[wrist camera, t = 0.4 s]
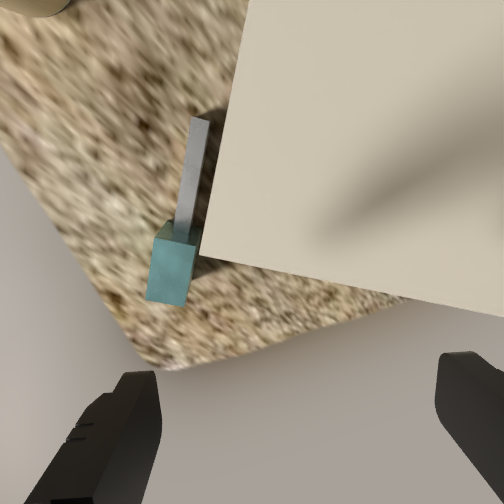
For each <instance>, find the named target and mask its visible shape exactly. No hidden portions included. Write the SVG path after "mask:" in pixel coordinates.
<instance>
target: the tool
mask: <svg viewBox="0 0 504 504" xmlns="http://www.w3.org/2000/svg"><path fill="white" fill-rule="evenodd" d="M210 127H211V121H207V120H203V119H199V118H196V117H191V123H190V129H189V135H188V141H187V147H186V153H185V160H184V166H183V172H182V178H181V184H180V190H179V196H178V202H177V208H176V214H175V220H174V222H171V221H167V222H166V223H165V224H164V226H163V227H162V228H161V230H160V231H159V232H158V234H157V235H156V236H155V238H154V243H153V250H152V257H151V264H150V271H149V278H148V284H147V291H146V298H145V300H149V301H154V302H160V303H165V304H171V305H176V306H182V307H184V306H185V302H186V299H187V295H188V292H189V288H190V285H191V281H192V276H193V271H194V266H195V261H196V256H197V251H198V246H199V241H200V236H201V231H202V228H199V227H194V226H192V224H193V219H194V213H195V208H196V203H197V197H198V192H199V186H200V181H201V176H202V170H203V165H204V159H205V154H206V149H207V143H208V138H209V132H210Z"/></svg>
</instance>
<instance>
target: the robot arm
mask: <svg viewBox="0 0 504 504" xmlns="http://www.w3.org/2000/svg"><path fill="white" fill-rule="evenodd" d="M435 408H436V412H437V415H438V418H439V420H440V422H441V423H442V425H443V426H444V428H445V429H446V430H447V431H448V433H449V434H450V435H451V436H452V438H453V439H454V440H455V442H456V443H457V444H458V446H459V447H460V448H461V449H462V451H463V452H464V453H465V455H466V456H467V457H468V458H469V460H470V461H471V462H472V463H473V465H474V466H475V467H476V468H477V470H478V471H479V472H480V474H481V475H482V476H483V478H484V479H485V480H486V481H487V483H488V484H489V485H490V487H491V488H492V489H493V491H494V492H495V493H496V495H497V496H498V497H499V498H500V500H501V501H502V502H503V503H504V372H503V371H501V370H499V369H496V368H494V367H493V366H492V365H490V364H489V363H488V362H487V361H485V360H484V359H483V358H482V357H481V356H479V355H478V354H477V353H475V352H472V351H467V352H452V353H443V354H442V355H441V356H440V358H439V363H438V373H437V383H436V392H435ZM161 433H162V415H161V408H160V402H159V395H158V388H157V381H156V376H155V373H154V371H138V372H125V373H124V374H123V375H122V377H121V379H120V380H119V382H118V384H117V386H116V387H115V389H114V391H113V392H112V393H103V394H102V395H101V396H100V397H98V398H97V399H96V400H95V401H94V402H93V403H92V404H90V405H89V406H88V407H87V408H86V409H85V411H84V412H83V414H82V415H81V417H80V418H79V420H78V422H77V423H76V426H75V428H73V429H72V431H71V432H70V434H69V436H68V437H67V438H66V443H63V445H62V446H61V447H60V449H59V451H58V452H57V454H56V455H55V457H54V458H53V460H52V461H51V463H50V465H49V466H48V468H47V469H46V471H45V472H44V474H43V475H42V477H41V478H40V480H39V481H38V483H37V485H36V486H35V487H34V489H33V490H32V492H31V493H30V495H29V496H28V498H27V500H26V501H25V503H24V504H141V503H142V500H143V496H144V492H145V490H146V486H147V483H148V480H149V477H150V473H151V470H152V467H153V463H154V460H155V457H156V454H157V450H158V447H159V444H160V439H161Z"/></svg>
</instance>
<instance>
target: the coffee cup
mask: <svg viewBox="0 0 504 504" xmlns="http://www.w3.org/2000/svg"><path fill="white" fill-rule="evenodd" d="M69 2H70V0H0V7H3V8H5V9H8V10H10V11H13V12H16V13H18V14H21V15H24V16H28V17H35V18H40V17H48V16H52V15H54V14H56V13H58V12H60V11H61V10H62V9H63V8H65V7H66V6H67V4H68V3H69Z"/></svg>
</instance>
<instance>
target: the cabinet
mask: <svg viewBox="0 0 504 504" xmlns="http://www.w3.org/2000/svg"><path fill="white" fill-rule="evenodd" d="M199 255H202V256H207V257H212V258H216V259H221V260H226V261H231V262H236V263H241V264H246V265H251V266H256V267H261V268H265V269H270V270H275V271H280V272H285V273H290V274H295V275H300V276H305V277H309V278H314V279H319V280H324V281H329V282H334V283H339V284H344V285H349V286H354V287H358V288H363V289H368V290H373V291H378V292H383V293H388V294H393V295H398V296H402V297H407V298H412V299H418V300H422V301H427V302H432V303H437V304H442V305H446V306H451V307H456V308H461V309H466V310H471V311H476V312H481V313H486V314H491V315H495V316H501V317H504V0H249V5H248V10H247V15H246V20H245V25H244V30H243V35H242V40H241V45H240V50H239V55H238V60H237V65H236V70H235V75H234V80H233V85H232V90H231V95H230V100H229V105H228V110H227V115H226V120H225V125H224V130H223V136H222V141H221V146H220V151H219V156H218V161H217V166H216V171H215V176H214V181H213V186H212V191H211V196H210V201H209V206H208V211H207V216H206V221H205V226H204V231H203V236H202V241H201V246H200V251H199Z"/></svg>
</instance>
